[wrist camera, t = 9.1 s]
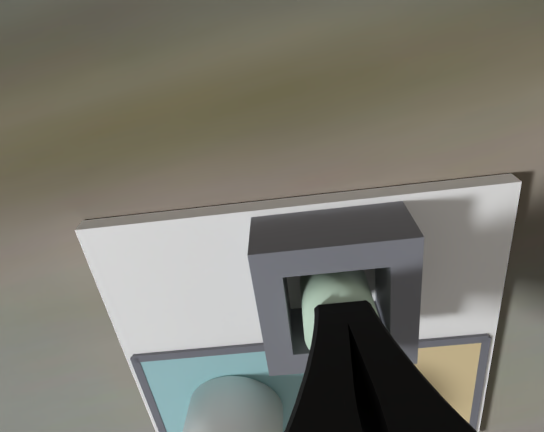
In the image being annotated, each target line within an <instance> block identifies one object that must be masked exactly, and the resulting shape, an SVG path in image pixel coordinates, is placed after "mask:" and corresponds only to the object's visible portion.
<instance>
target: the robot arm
mask: <svg viewBox="0 0 544 432" xmlns="http://www.w3.org/2000/svg"><path fill="white" fill-rule="evenodd" d="M284 432H477V431H476V430H475V429H474V428H473V427H472V426H471V425H470V424H469V423H468V422H467V421H466V420H465V419H464V418H463V417H462V416H461V415H460V414H459V413H458V412H457V411H456V410H455V409H454V408H453V407H452V406H451V405H450V404H449V403H448V402H447V401H446V400H445V399H444V398H443V397H442V396H441V395H440V394H439V392H438V391H437V390H436V389H435V388H434V387H433V386H432V385H431V384H430V382H429V381H428V380H427V379H426V378H425V377H424V376H423V374H422V373H421V372H420V371H419V370H418V369H417V367H416V366H415V365H414V364H413V363H412V361H411V360H410V359H409V358H408V356H407V355H406V354H405V353H404V351H403V350H402V349H401V348H400V346H399V345H398V344H397V342H396V341H395V340H394V338H393V337H392V336H391V334H390V333H389V331H388V330H387V329H386V327H385V326H384V324H383V323H382V321H381V320H380V318H379V317H378V315H377V314H376V312H375V310H374V309H373V307H372V305H371V303H369V302H368V301H367V300H364V301H353V302H342V303H332V304H321V305H317V306H316V307H315V308H314V329H313V336H312V342H311V347H310V352H309V356H308V360H307V364H306V369H305V372H304V376H303V379H302V382H301V386H300V389H299V392H298V395H297V398H296V401H295V404H294V407H293V410H292V413H291V416H290V418H289V421H288V423H287V426H286V428H285V431H284Z"/></svg>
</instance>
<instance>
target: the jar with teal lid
mask: <svg viewBox="0 0 544 432" xmlns="http://www.w3.org/2000/svg"><path fill="white" fill-rule="evenodd" d="M183 432H283V404H282V402H281V399H280V398H279V396H278V395H277V394H276V392H275V391H274V390H272V389H271V388H270V387H269V386H267V385H265V384H264V383H262V382H259V381H257V380H254V379H251V378H247V377H241V376H224V377H218V378H214V379H211V380H209V381H206V382H205V383H203V384H201V385H200V386H199V387H198V388H197V389H196V390H195V391H194V392H193V394H192V396H191V399H190V403H189V407H188V411H187V415H186V419H185V423H184V427H183Z"/></svg>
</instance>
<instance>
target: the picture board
mask: <svg viewBox="0 0 544 432" xmlns="http://www.w3.org/2000/svg"><path fill="white" fill-rule="evenodd" d="M521 184H522V181H520V180H519V179H518V178H517V177H515V176H514V175H513V174H512V173H510V174H501V175H491V176H482V177H473V178H464V179H455V180H446V181H437V182H428V183H419V184H410V185H401V186H391V187H382V188H373V189H364V190H355V191H346V192H337V193H328V194H319V195H310V196H301V197H292V198H282V199H273V200H264V201H255V202H246V203H237V204H228V205H219V206H210V207H201V208H192V209H182V210H173V211H164V212H155V213H146V214H137V215H128V216H119V217H110V218H101V219H92V220H83V221H82V222H81V223H80V224H79V226H78V227H77V228H76V229H75V232H76V235H77V237H78V240H79V242H80V245H81V247H82V250H83V252H84V255H85V257H86V260H87V262H88V265H89V267H90V269H91V272H92V274H93V277H94V279H95V282H96V284H97V287H98V289H99V292H100V294H101V297H102V299H103V302H104V304H105V307H106V309H107V312H108V314H109V317H110V319H111V322H112V324H113V327H114V329H115V332H116V334H117V337H118V339H119V342H120V344H121V347H122V349H123V352H124V354H125V357H126V359H127V362H128V364H129V367H130V369H131V372H132V374H133V377H134V379H135V382H136V384H137V386H138V389H139V391H140V394H141V396H142V399H143V401H144V404H145V406H146V409H147V411H148V414H149V416H150V419H151V421H152V424H153V426H154V429H155V431H156V432H183V427H184V423H185V419H186V415H187V411H188V407H189V403H190V399H191V396H192V394H193V392H194V391H195V390H196V389H197V388H198V387H199V386H200V385H201V384H203V383H205V382H206V381H209V380H211V379H214V378H218V377H224V376H241V377H247V378H251V379H254V380H257V381H259V382H262V383H264V384H265V385H267V386H269V387H270V388H271V389H272V390H274V391H275V392H276V394H277V395H278V396H279V398H280V399H281V402H282V404H283V432H284V431H285V428H286V426H287V423H288V421H289V418H290V416H291V413H292V410H293V407H294V404H295V401H296V398H297V395H298V392H299V389H300V386H301V382H302V379H303V376H304V372H305V369H306V364H307V360H308V356H309V352H310V350H309V349H308V347H307V345H306V343H305V339H304V328H303V316H302V305H301V294H300V277H301V276H304V275H314V274H325V273H335V272H345V271H355V270H364V272H365V275H366V278H367V281H368V284H369V287H370V291H371V294H372V297H373V300H374V303H375V306H376V309H377V313H378V316H379V318H380V320H381V321H382V323H383V324H384V326H385V327H386V329H387V330H388V331H389V333H390V334H391V336H392V337H393V338H394V340H395V341H396V342H397V344H398V345H399V346H400V348H401V349H402V350H403V351H404V353H405V354H406V355H407V356H408V358H409V359H410V360H411V361H412V363H413V364H414V365H415V366H416V367H417V369H418V370H419V371H420V372H421V373H422V374H423V376H424V377H425V378H426V379H427V380H428V381H429V382H430V384H431V385H432V386H433V387H434V388H435V389H436V390H437V391H438V392H439V394H440V395H441V396H442V397H443V398H444V399H445V400H446V401H447V402H448V403H449V404H450V405H451V406H452V407H453V408H454V409H455V410H456V411H457V412H458V413H459V414H460V415H461V416H462V417H463V418H464V419H465V420H466V421H467V422H468V423H469V424H470V425H471V426H472V427H473V428H474V429H475V430H476V431H477V432H479V429H480V423H481V418H482V412H483V406H484V400H485V394H486V388H487V383H488V377H489V371H490V365H491V359H492V353H493V348H494V342H495V336H496V330H497V324H498V318H499V313H500V307H501V301H502V295H503V289H504V283H505V278H506V272H507V266H508V260H509V254H510V248H511V243H512V237H513V231H514V225H515V219H516V213H517V208H518V202H519V196H520V190H521Z"/></svg>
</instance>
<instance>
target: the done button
mask: <svg viewBox="0 0 544 432" xmlns="http://www.w3.org/2000/svg"><path fill="white" fill-rule="evenodd" d="M300 294H301V305H302V316H303V328H304V339H305V343H306V345H307V347H308V349H309V350H310V347H311V342H312V336H313V329H314V308H315V307H316V306H317V305H321V304H332V303H342V302H353V301H364V300H367V301H368V302H369V303H371V305H372V307H373V309H374V310H375V312H376V314H377V315H378V313H377V309H376V306H375V303H374V300H373V297H372V294H371V291H370V287H369V284H368V281H367V278H366V275H365V272H364V270H355V271H345V272H335V273H325V274H314V275H304V276H301V277H300ZM378 317H379V316H378Z"/></svg>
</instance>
